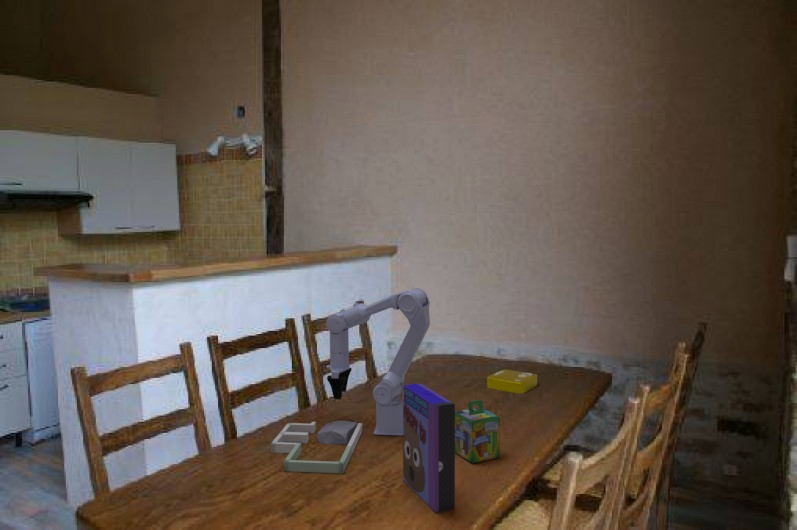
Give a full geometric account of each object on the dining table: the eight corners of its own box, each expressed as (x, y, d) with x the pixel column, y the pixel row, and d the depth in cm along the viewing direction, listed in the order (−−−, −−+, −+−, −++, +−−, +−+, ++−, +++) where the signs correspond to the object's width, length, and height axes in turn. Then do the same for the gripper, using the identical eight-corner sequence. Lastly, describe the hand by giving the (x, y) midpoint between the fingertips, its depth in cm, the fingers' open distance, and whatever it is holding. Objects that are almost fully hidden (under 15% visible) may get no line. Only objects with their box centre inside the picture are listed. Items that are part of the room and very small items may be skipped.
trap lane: (362, 431, 181) (362, 423, 181) (343, 473, 152) (343, 463, 152) (289, 429, 184) (289, 421, 184) (257, 470, 154) (256, 460, 154)
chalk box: (472, 464, 157) (472, 409, 156) (453, 452, 165) (453, 399, 164) (501, 458, 161) (501, 403, 160) (481, 446, 169) (481, 394, 168)
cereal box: (403, 481, 148) (402, 385, 146) (420, 477, 149) (420, 382, 147) (435, 513, 132) (435, 405, 130) (454, 508, 134) (454, 403, 131)
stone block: (315, 450, 172) (348, 445, 170) (312, 433, 172) (345, 429, 170) (329, 436, 184) (360, 432, 182) (326, 421, 184) (357, 416, 182)
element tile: (503, 379, 238) (503, 367, 238) (538, 385, 230) (539, 373, 229) (485, 388, 226) (485, 375, 226) (522, 395, 218) (522, 382, 217)
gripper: (331, 346, 193) (332, 387, 194) (321, 357, 178) (321, 401, 180) (353, 346, 192) (353, 388, 193) (344, 357, 178) (345, 402, 179)
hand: (340, 395), depth 186 cm, fingers open, 7 cm apart
